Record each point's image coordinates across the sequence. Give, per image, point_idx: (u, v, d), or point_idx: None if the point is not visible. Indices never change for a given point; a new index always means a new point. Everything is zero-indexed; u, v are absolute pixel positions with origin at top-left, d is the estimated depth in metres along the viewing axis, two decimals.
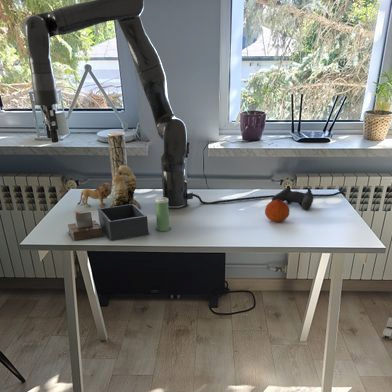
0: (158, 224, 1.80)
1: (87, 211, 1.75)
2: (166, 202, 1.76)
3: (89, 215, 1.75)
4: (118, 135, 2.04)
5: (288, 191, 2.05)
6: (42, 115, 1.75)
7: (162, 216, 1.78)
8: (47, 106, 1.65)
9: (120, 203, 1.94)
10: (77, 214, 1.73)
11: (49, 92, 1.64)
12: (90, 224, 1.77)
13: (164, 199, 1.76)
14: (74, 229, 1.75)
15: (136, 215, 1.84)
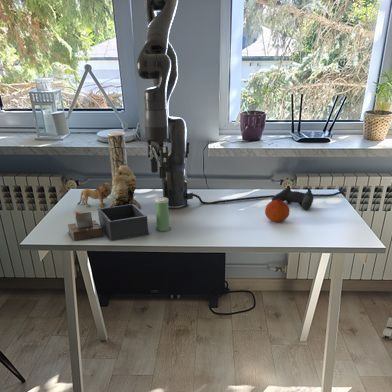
0: (158, 224, 1.80)
1: (87, 211, 1.75)
2: (166, 202, 1.76)
3: (89, 215, 1.75)
4: (118, 135, 2.04)
5: (288, 191, 2.05)
6: None
7: (162, 216, 1.78)
8: (159, 142, 1.63)
9: (120, 203, 1.94)
10: (77, 214, 1.73)
11: (162, 129, 1.61)
12: (90, 224, 1.77)
13: (164, 199, 1.76)
14: (74, 229, 1.75)
15: (136, 215, 1.84)
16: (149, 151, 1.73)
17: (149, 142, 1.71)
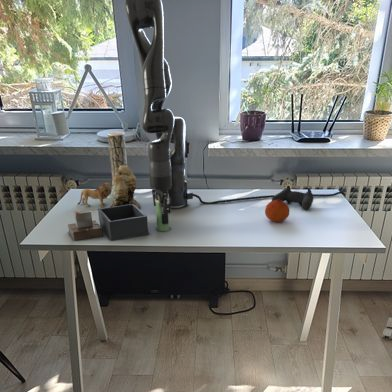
0: (158, 224, 1.80)
1: (87, 211, 1.75)
2: None
3: (89, 215, 1.75)
4: (118, 135, 2.04)
5: (288, 191, 2.05)
6: (153, 199, 1.81)
7: None
8: (163, 191, 1.71)
9: (120, 203, 1.94)
10: (77, 214, 1.73)
11: (166, 178, 1.70)
12: (90, 224, 1.77)
13: None
14: (74, 229, 1.75)
15: (136, 215, 1.84)
16: (154, 199, 1.81)
17: (153, 191, 1.80)
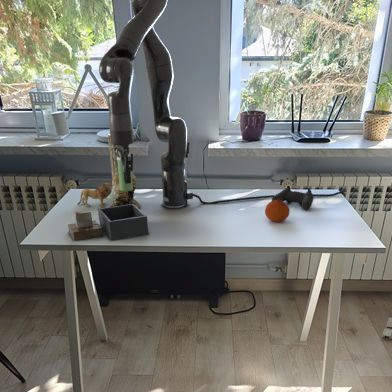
0: (120, 184, 1.71)
1: (87, 211, 1.75)
2: None
3: (89, 215, 1.75)
4: None
5: (288, 191, 2.05)
6: None
7: None
8: (124, 146, 1.63)
9: (120, 203, 1.94)
10: (77, 214, 1.73)
11: (127, 132, 1.61)
12: (90, 224, 1.77)
13: None
14: (74, 229, 1.75)
15: (136, 215, 1.84)
16: None
17: (116, 148, 1.71)
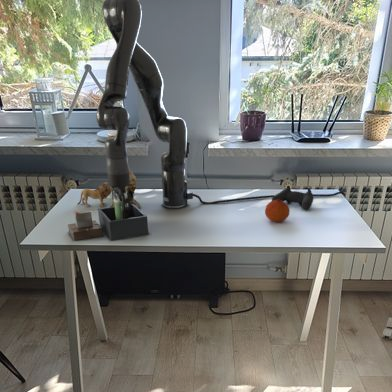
0: None
1: (87, 211, 1.75)
2: None
3: (89, 215, 1.75)
4: None
5: (288, 191, 2.05)
6: (112, 192, 1.80)
7: (120, 216, 1.77)
8: (121, 188, 1.70)
9: None
10: (77, 214, 1.73)
11: (123, 176, 1.68)
12: (90, 224, 1.77)
13: None
14: (74, 229, 1.75)
15: (136, 215, 1.84)
16: (113, 194, 1.80)
17: None
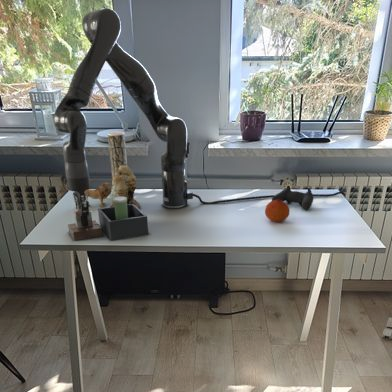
0: None
1: None
2: (124, 202, 1.75)
3: (89, 215, 1.75)
4: (118, 135, 2.04)
5: (288, 191, 2.05)
6: None
7: (120, 216, 1.77)
8: (80, 192, 1.67)
9: None
10: (77, 214, 1.73)
11: (82, 179, 1.66)
12: (90, 224, 1.77)
13: (122, 199, 1.75)
14: (74, 229, 1.75)
15: (136, 215, 1.84)
16: None
17: (74, 194, 1.76)
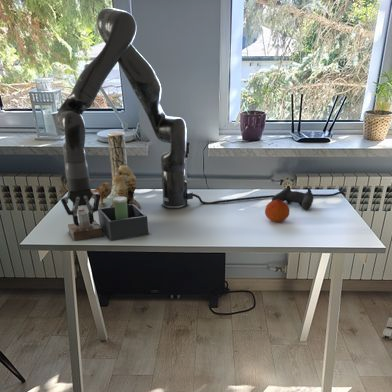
0: None
1: (83, 213, 1.73)
2: (124, 202, 1.75)
3: (80, 217, 1.73)
4: (118, 135, 2.04)
5: (288, 191, 2.05)
6: None
7: (120, 216, 1.77)
8: (68, 191, 1.70)
9: None
10: None
11: (67, 179, 1.66)
12: (81, 226, 1.75)
13: (122, 199, 1.75)
14: (74, 229, 1.75)
15: (136, 215, 1.84)
16: (94, 202, 1.75)
17: None
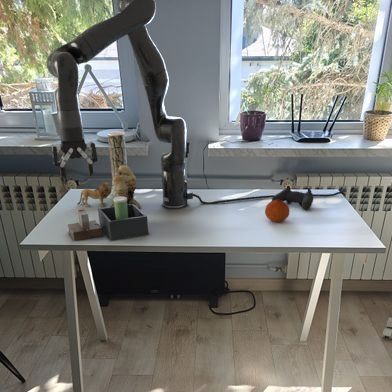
0: None
1: (83, 213, 1.73)
2: (124, 202, 1.75)
3: (80, 217, 1.73)
4: (118, 135, 2.04)
5: (288, 191, 2.05)
6: None
7: (120, 216, 1.77)
8: None
9: None
10: None
11: (60, 129, 1.58)
12: (81, 226, 1.75)
13: (122, 199, 1.75)
14: (74, 229, 1.75)
15: (136, 215, 1.84)
16: (91, 153, 1.67)
17: None
